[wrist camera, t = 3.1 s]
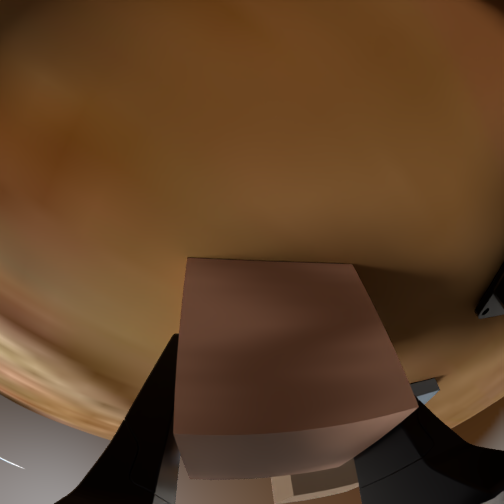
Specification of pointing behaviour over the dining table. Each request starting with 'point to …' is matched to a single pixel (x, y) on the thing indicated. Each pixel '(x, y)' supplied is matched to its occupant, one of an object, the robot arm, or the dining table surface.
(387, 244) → the dining table surface
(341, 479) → the blueprint board
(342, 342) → the terracotta block
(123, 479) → the robot arm
